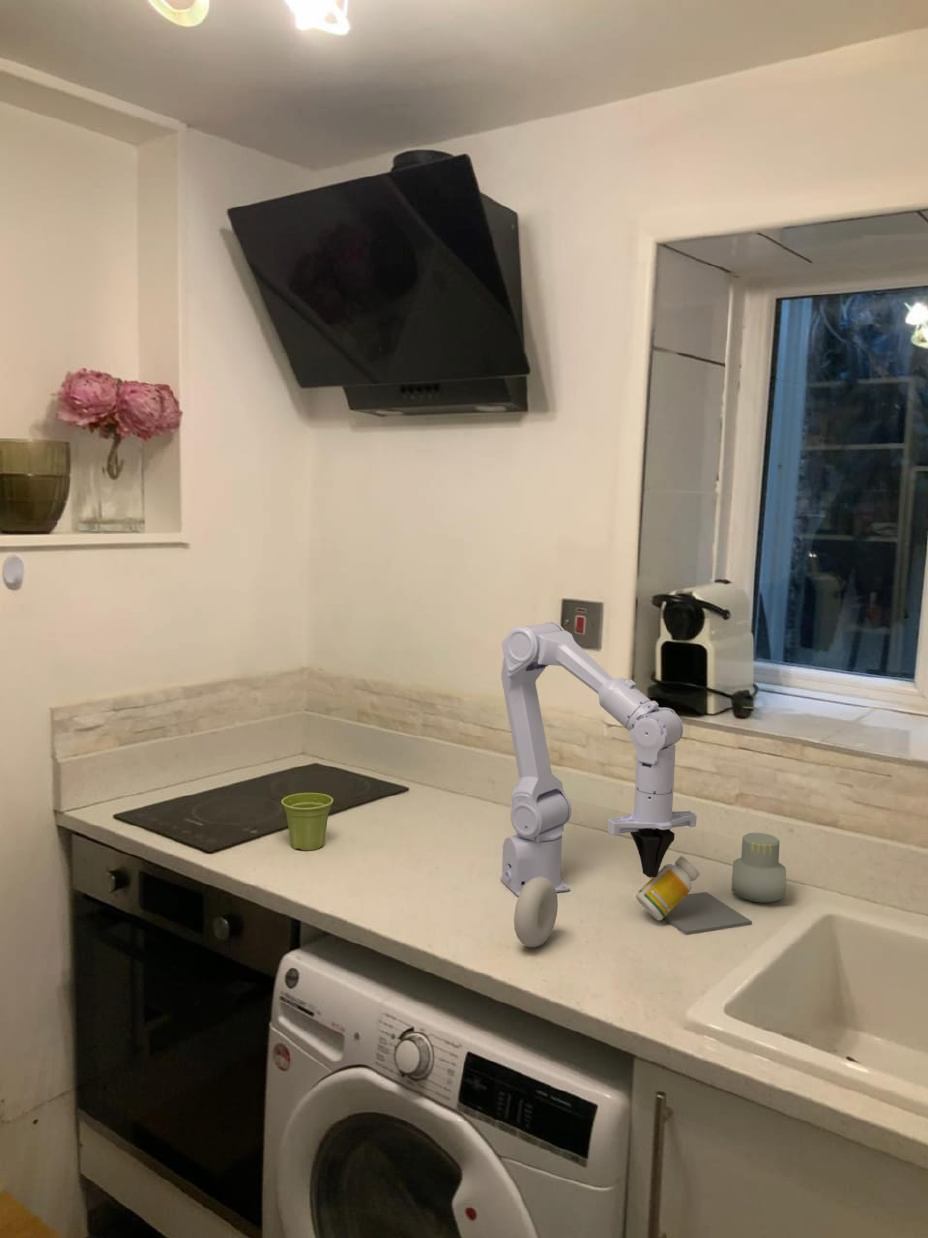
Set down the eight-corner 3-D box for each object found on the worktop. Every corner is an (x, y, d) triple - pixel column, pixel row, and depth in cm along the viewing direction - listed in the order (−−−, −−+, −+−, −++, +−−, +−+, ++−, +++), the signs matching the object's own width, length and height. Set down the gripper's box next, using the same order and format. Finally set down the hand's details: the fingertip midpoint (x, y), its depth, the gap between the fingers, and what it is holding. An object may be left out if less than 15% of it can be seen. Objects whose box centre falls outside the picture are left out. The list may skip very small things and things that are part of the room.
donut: (539, 929, 146) (542, 865, 145) (560, 935, 144) (563, 870, 143) (508, 955, 138) (510, 887, 137) (530, 961, 136) (532, 892, 135)
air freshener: (785, 912, 155) (789, 852, 154) (731, 905, 157) (735, 846, 156) (782, 887, 165) (785, 830, 164) (731, 881, 167) (735, 825, 166)
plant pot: (288, 857, 173) (288, 810, 172) (276, 840, 182) (276, 795, 181) (339, 851, 177) (339, 804, 176) (324, 834, 185) (325, 790, 184)
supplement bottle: (629, 890, 151) (672, 847, 153) (647, 913, 153) (689, 870, 155) (647, 904, 146) (691, 859, 148) (665, 927, 148) (708, 883, 150)
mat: (685, 935, 146) (685, 931, 146) (643, 903, 157) (643, 900, 157) (751, 924, 150) (752, 921, 150) (706, 894, 161) (706, 891, 161)
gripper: (625, 800, 141) (621, 890, 143) (709, 792, 146) (705, 879, 148) (602, 787, 148) (598, 873, 149) (683, 779, 153) (679, 862, 155)
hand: (649, 875), depth 149 cm, fingers closed
